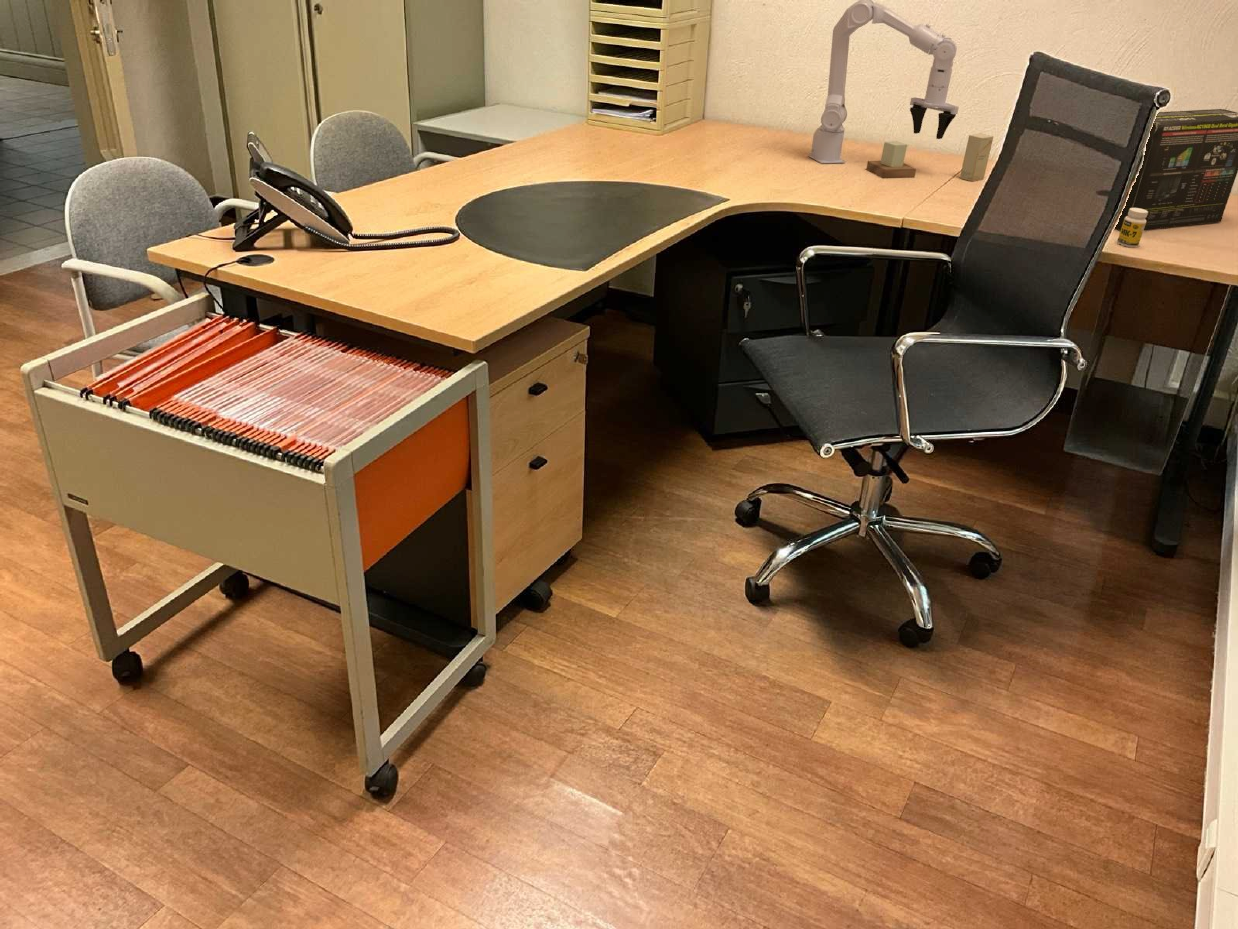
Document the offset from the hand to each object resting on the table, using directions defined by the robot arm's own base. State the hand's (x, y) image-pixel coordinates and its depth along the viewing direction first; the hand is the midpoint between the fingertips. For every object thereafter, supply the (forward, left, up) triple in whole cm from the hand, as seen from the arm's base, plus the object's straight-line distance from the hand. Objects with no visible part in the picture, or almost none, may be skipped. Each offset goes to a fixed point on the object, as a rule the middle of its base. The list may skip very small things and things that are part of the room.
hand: (927, 135), depth 282 cm
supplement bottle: (+68, +15, -11) cm, 70 cm away
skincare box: (+8, +12, -11) cm, 18 cm away
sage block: (0, -10, -8) cm, 13 cm away
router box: (+53, +38, -11) cm, 66 cm away
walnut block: (0, -10, -11) cm, 15 cm away
